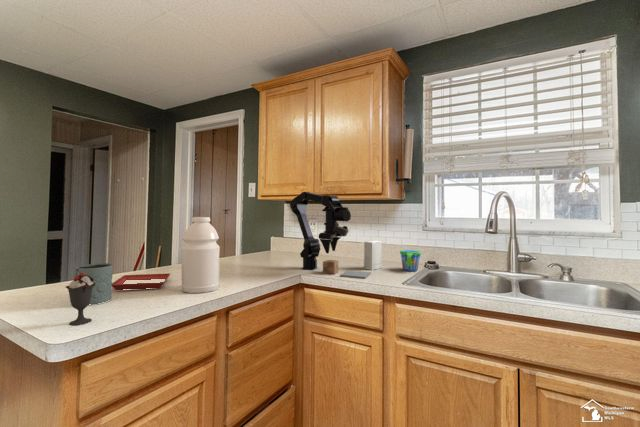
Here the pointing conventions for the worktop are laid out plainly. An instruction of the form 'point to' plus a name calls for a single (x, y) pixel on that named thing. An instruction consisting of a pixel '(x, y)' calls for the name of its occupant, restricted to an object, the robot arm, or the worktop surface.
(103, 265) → the blue-grey pot
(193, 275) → the bottle
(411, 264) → the snack cup
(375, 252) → the skincare box
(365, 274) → the slate mat
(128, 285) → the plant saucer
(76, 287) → the sundae
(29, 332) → the worktop surface
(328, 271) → the walnut cube
